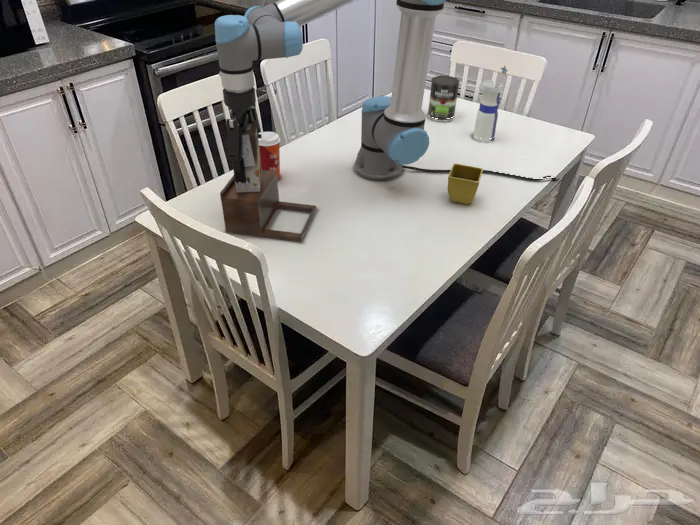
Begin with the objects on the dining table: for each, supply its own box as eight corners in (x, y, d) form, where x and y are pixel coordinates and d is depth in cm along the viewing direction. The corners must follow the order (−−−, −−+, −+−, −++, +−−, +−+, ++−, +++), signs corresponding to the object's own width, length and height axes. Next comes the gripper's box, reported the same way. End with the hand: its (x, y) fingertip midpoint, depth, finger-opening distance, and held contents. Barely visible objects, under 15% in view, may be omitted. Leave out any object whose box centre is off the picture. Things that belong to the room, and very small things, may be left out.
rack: (316, 210, 153) (315, 172, 146) (301, 242, 141) (299, 202, 133) (246, 201, 156) (242, 164, 149) (226, 232, 144) (219, 193, 136)
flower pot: (478, 194, 161) (483, 167, 155) (474, 209, 154) (479, 182, 149) (449, 189, 163) (453, 162, 158) (444, 203, 157) (447, 176, 151)
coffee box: (260, 192, 139) (254, 134, 129) (236, 193, 139) (227, 135, 129) (262, 175, 146) (256, 119, 136) (238, 175, 146) (231, 119, 136)
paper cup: (278, 185, 164) (275, 143, 155) (255, 182, 165) (250, 140, 156) (286, 173, 170) (283, 131, 161) (263, 170, 171) (259, 129, 162)
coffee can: (454, 123, 202) (459, 86, 193) (426, 120, 203) (430, 84, 194) (454, 112, 210) (459, 76, 201) (428, 110, 211) (432, 74, 202)
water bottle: (477, 130, 197) (488, 60, 182) (498, 136, 193) (512, 66, 178) (467, 137, 192) (478, 67, 176) (489, 144, 188) (502, 72, 173)
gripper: (240, 70, 136) (249, 150, 150) (203, 104, 118) (217, 191, 132) (268, 72, 135) (275, 153, 148) (236, 107, 117) (246, 194, 131)
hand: (248, 171), depth 140 cm, fingers closed on coffee box, 10 cm apart
